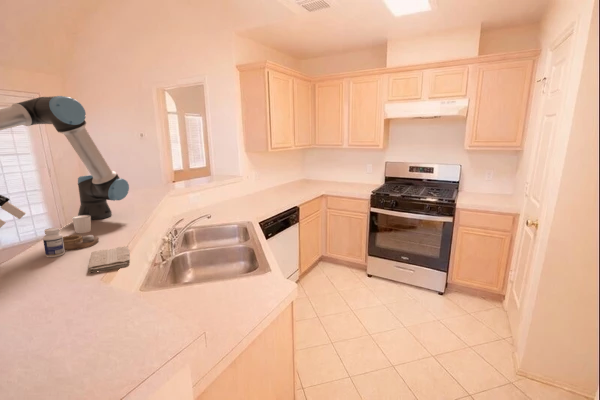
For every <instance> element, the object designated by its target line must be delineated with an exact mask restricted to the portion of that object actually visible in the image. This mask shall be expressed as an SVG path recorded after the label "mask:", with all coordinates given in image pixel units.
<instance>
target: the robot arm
mask: <svg viewBox="0 0 600 400" xmlns="http://www.w3.org/2000/svg"><path fill="white" fill-rule="evenodd" d="M86 115H87V114H86V110H85V108H84V106H83V105H82V104H81V102H79V101H78V100H77V99H76V98H72V97H70V96H63V95H57V96H54V95H53V96H39V97H35V98H32V99H28V100H24V101H20V102H16V103H12V104H11V106H9V107H4V108H0V131H2V130H7V129H12V128H15V127H20V126H24V127H30V126H34V125H52V126H53V127H54V129H55V130H56V131H57V132H58V133H59V134H63V135H64V136H65V138H66V140H68V142H69V144H70V145H71V147H72V149H73V150H74V151H75V153H76V154H77V156H78V158H79V159H80V160H81V162H82V163H83V165H84V166H85V167H86V169H87V170H88V171H87V172H89V174H90V175H82V176H78V178H77V185H78V192H79V193H78V194H79V202H80V205H79V209H78V212H77V216H80V215H90V216H91V221H92V220H93V221H94V220H95V221H96V220H100V219H101V220H102V219H106V218H109V217H112V216H111V215H113V212H112V210H111V207H110V206H109V203H108V201H113V202H115V201H121V200H124V199H125V198H126V197H127V196H128V194H129V190H130V185H129V183H128V181H127V180H126V179H125V178H122V177H121V178H120V176H119V174H118V173H117V171H116V170H111V168H110V166H109V164H108V163H107V161H106V160H105V158H104V157H103V155H102V153H101V150H99V148H98V146H97V145H96V143H95V142H94V139H93V138H92V137H91V135H90V133H89V132H88V130H87V128H86V125H87V122H86V120H85V119H86ZM9 201H11V200H10V198H9V197H7V196H5V195H2V194H0V209H1V210H4V211H5V212H7V213H8V214H10V215H12V216H14V217H15V218H17V219H18V220H20V219H22V218H23V216H25V215H26V214H27V213H26V211H23V210H21V209H20V208H19V207H17V206H16V205H14V204H12V203H11V202H9ZM5 224H6V221H5V220H2V219H1V218H0V229H1V228H2V227H3V226H4V225H5Z"/></svg>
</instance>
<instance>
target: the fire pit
mask: <svg viewBox="0 0 600 400" xmlns="http://www.w3.org/2000/svg"><path fill="white" fill-rule="evenodd" d="M63 242H64V249H65V251H74V250H81V249H85V248H89V247H90V248H91V247H92V246H94V245H97V244H98V243H99V237H98V236H94V235H93V234H89V235H88V234H87V235H79V234H72V235H66V236H63Z"/></svg>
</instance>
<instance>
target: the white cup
mask: <svg viewBox="0 0 600 400" xmlns="http://www.w3.org/2000/svg"><path fill="white" fill-rule="evenodd" d="M71 219H72V224H73V228H74V231H75V233H76V234H86V233H89V232H91V231H92V229H91V228H92V227H91V226H92V223H91V221H92V220H91V216H90V215H80V216H78V215H75V216H73V217H72V218H71Z"/></svg>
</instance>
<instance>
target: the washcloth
mask: <svg viewBox="0 0 600 400" xmlns="http://www.w3.org/2000/svg"><path fill="white" fill-rule="evenodd" d="M130 253H131V252H130V249H129V245H128V246H127V245H123V246H118V247H115V248H110V249H108V248H107V249H100V250H95V251H92V252H91V254H90V258H89V263H88V265H87V270H88V274H89V273H90V274H92V273H91V272H97V271H104V272H108V271H115V270H120V269H125V268H128V267H129V266H130V264H131V259H130V257H131V255H130Z"/></svg>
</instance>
